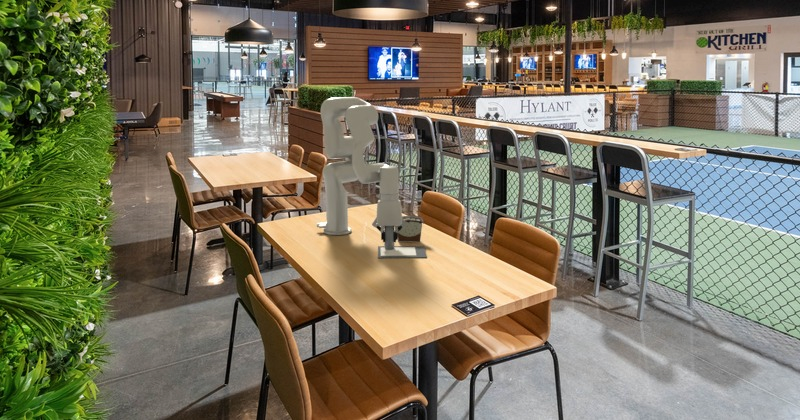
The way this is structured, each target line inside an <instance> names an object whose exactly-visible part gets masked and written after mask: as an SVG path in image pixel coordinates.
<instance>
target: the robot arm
mask: <svg viewBox="0 0 800 420" xmlns="http://www.w3.org/2000/svg"><path fill="white" fill-rule="evenodd" d="M339 118H341V119H342V118H345V122H346V124H347V126H348V129H349V131H350V134H351V136H350V135H349V136H348V135H347V136H345V134H344V133H345V132H344V125H343V123H342V122H341V119H339ZM320 119H321V123H322V127H323V138H324V139H323V141H324V142H323V143H324V151H325V153H324V154H325V155H326V157H327V158H328V159H329V160H339V159H340V160H341V159H345V160H344V161H343V160H342V161H335V162H329V163H327V164H326V165H324V167H323V169H322V178H323V182H324V183H323V184H324V187H325V188H324V189H325V209H326V211H325V214H326V215H325V217H326V221H325V222H317V223H316V228H319V229H323V231H322V232H323V233H324V234H326V235H329V236H342V235H343V236H344V235H347V234H348V235H349V234H350V233H352V228H351V227H349V216H348V214H349V212H348V211H349V210H348V192H347V189H346V188H345V186H344V184H346V183H351V182H356V181H359V183H361V184H363V185H364V184H365V185H367V184H375V183H379V193H378V194H377V193H376V195H375V198H376V199H378V200H377V205H376V217H375V219H374V220H373V221H372V223H371V225H372V227H374V228H376V229H377V230H378V231H379V232H380V240H381V241H382V243H384V242H385V233H384V226H394V243H397V241H398V231H400V230H401V229H402V228H403V227H404V226H406V225H407V224H406V222H405V220H404V219H403V218H402V216H403V211H402V210H403V207H402V202H401V200H400V199H399V197H400V196H399V195H400V194H399V192H400V191H399V190H400V188H399V183H400V182H399V181H400V180H399V168H398V167H397V166H394V165H389V164H387V163H383V162H378V163H371V164H370V163H368V164H366V161H365V158H364V155H363V154H364V150H365V149H366V148H367V147H368V146H370V145H372V144H373V143H374V141H375V138H376V137H375V135H374V132H373V130H372V128H371V126H375V125H376V124H377V123H378V121H379V113H378V111H377V108H376V107H375V106H374V105H373V104H371V103H369V102H367V101H365V100H364V99H362V98H360V97H356V96H355V97H354V96H347V97H346V96H343V97H341V96H339V97H330V98H327V99H325V100H324V101H323V102H322V104H321V107H320Z"/></svg>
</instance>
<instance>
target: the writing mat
mask: <svg viewBox="0 0 800 420" xmlns="http://www.w3.org/2000/svg"><path fill="white" fill-rule="evenodd" d="M427 258H428V256H427V251H426V248H425V245H394V249H393V250H386V249H385V245H384V246H383V245H380V246H379V245H378V247H377V259H427Z"/></svg>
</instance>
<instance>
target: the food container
mask: <svg viewBox="0 0 800 420" xmlns="http://www.w3.org/2000/svg"><path fill="white" fill-rule="evenodd" d="M402 218H403V219H404V220H405V222H406V224H407V225H406V226H404V227H403V228H402V229H401V230H400V231H398V240H397V241H398V243H401V242H402V243H406V242H407V243H420V242H421V237H422V228H423V225H424V219H423V217H420V216H416V215H402Z"/></svg>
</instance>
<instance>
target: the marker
mask: <svg viewBox="0 0 800 420" xmlns="http://www.w3.org/2000/svg"><path fill="white" fill-rule="evenodd" d="M394 231H395V227H394V226H384V233H385V242H383V244H384V246H385V249H386V250H393V249H394V246H395V242H394Z"/></svg>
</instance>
